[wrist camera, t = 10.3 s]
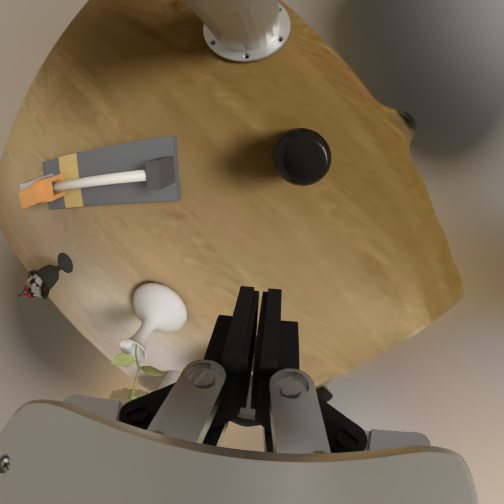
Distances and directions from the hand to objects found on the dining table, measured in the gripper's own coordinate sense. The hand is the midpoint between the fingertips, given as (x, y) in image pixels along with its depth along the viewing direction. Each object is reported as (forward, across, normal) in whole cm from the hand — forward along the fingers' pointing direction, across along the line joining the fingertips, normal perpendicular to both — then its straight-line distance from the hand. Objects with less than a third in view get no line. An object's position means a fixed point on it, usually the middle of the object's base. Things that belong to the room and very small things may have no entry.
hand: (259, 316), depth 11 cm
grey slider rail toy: (+31, +30, -1) cm, 43 cm away
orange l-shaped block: (+27, +39, -1) cm, 47 cm away
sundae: (+31, +45, +18) cm, 57 cm away
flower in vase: (+31, +20, +24) cm, 44 cm away
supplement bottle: (+31, -3, -5) cm, 31 cm away
